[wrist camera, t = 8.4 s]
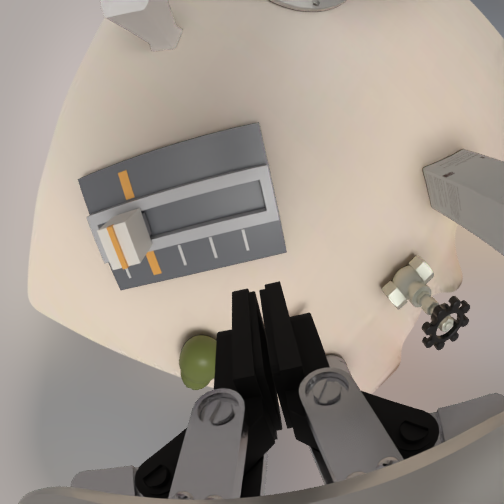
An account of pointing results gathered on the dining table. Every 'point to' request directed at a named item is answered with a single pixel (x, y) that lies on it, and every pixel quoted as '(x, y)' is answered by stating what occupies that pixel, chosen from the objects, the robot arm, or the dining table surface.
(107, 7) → the perfume bottle
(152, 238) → the console
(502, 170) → the skincare box
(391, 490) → the robot arm
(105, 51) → the dining table surface
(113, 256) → the fader
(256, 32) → the dining table surface
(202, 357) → the pear
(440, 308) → the valve
